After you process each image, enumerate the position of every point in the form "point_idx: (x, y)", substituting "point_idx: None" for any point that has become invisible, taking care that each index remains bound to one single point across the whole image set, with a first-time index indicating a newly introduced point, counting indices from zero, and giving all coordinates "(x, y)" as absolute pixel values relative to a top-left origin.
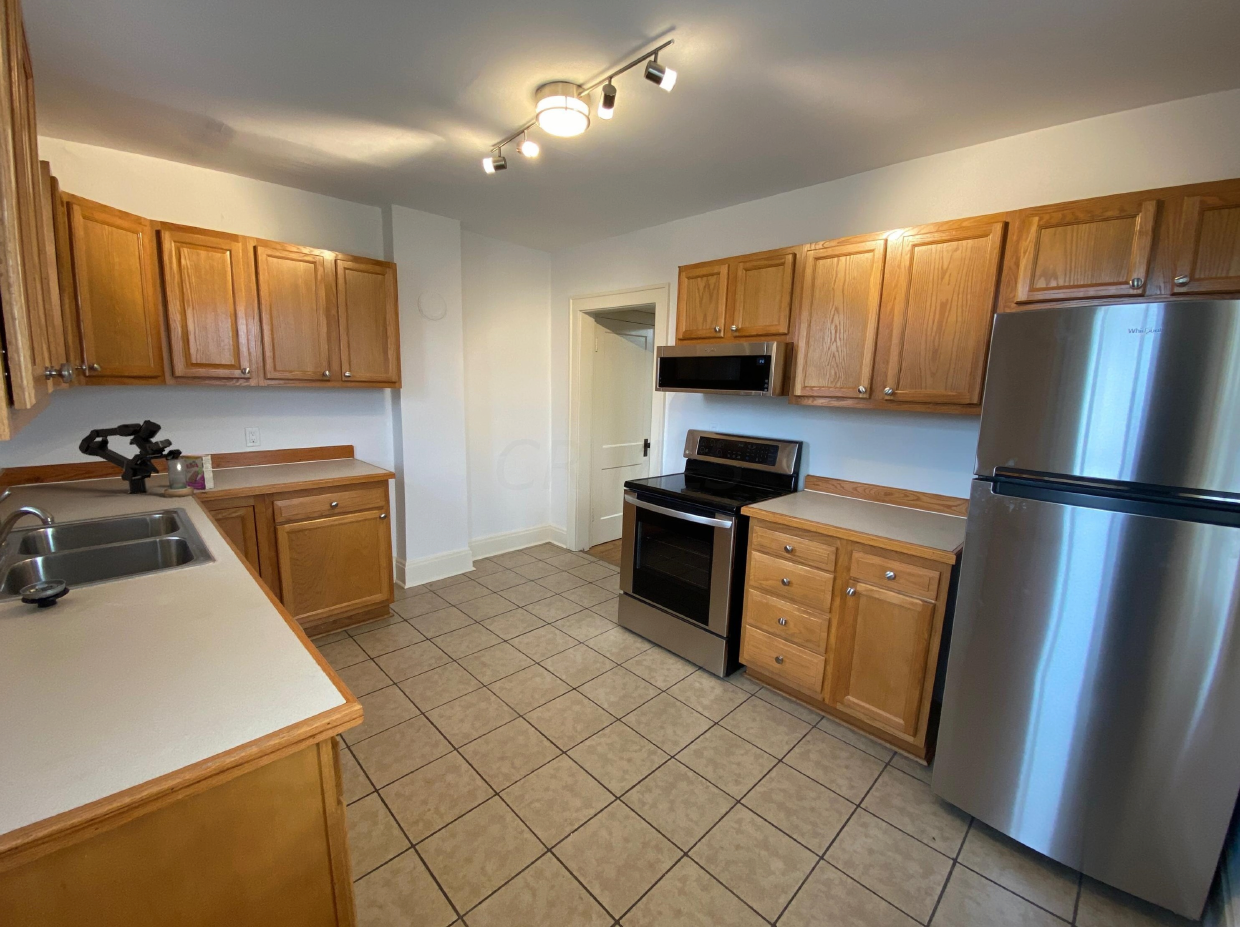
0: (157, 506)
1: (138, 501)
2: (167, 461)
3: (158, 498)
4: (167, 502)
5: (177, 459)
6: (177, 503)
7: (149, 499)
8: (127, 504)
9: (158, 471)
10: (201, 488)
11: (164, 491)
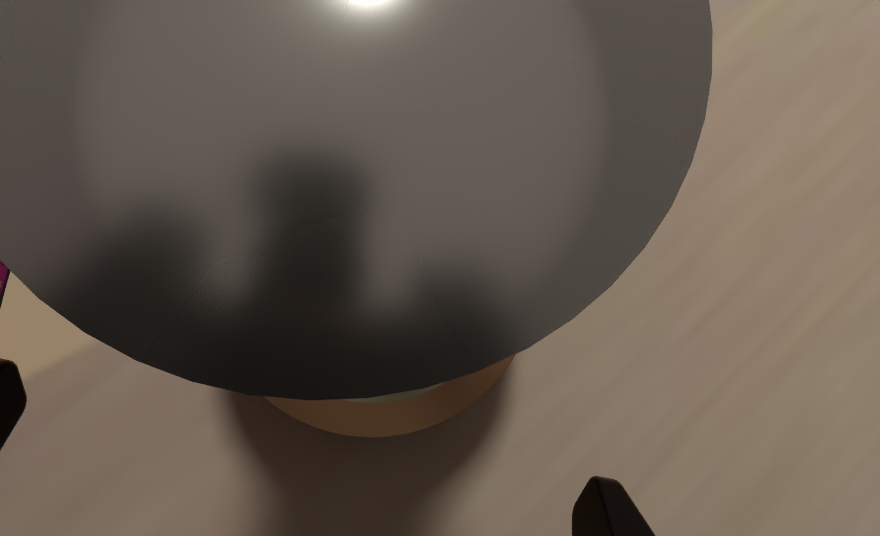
0: (869, 111)
1: (719, 486)
2: (679, 164)
3: (556, 391)
4: (714, 145)
5: (94, 44)
6: (736, 24)
7: (615, 450)
8: (856, 475)
9: (618, 489)
10: (3, 273)
11: (499, 373)
